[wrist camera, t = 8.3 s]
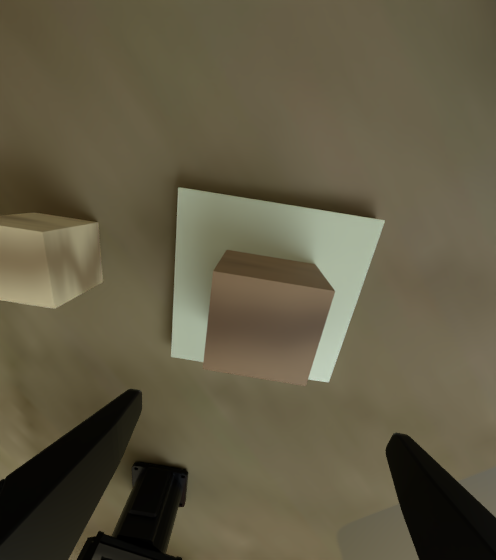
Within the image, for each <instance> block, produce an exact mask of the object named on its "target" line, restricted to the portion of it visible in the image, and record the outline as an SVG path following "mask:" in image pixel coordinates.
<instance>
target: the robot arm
mask: <svg viewBox="0 0 496 560" xmlns="http://www.w3.org/2000/svg"><path fill="white" fill-rule="evenodd" d="M141 410H142V392H141V391H140V390H136V389H129V390H127V391H125V392H124V393H123V394H121V395H120V396H118V397H117V398H116V399H114V400H113V401H111V402H110V403H109V404H107V405H106V406H104V407H103V408H102V409H100V410H99V411H97V412H96V413H95V414H93V415H92V416H90V417H89V418H88V419H86V420H85V421H83V422H82V423H81V424H79V425H78V426H76V427H75V428H74V429H72V430H71V431H69V432H68V433H67V434H65V435H64V436H62V437H61V438H60V439H58V440H57V441H55V442H54V443H53V444H51V445H50V446H48V447H47V448H46V449H44V450H43V451H41V452H40V453H39V454H37V455H36V456H34V457H33V458H32V459H30V460H29V461H27V462H26V463H25V464H23V465H22V466H20V467H19V468H18V469H16V470H15V471H13V472H12V473H11V474H9V475H8V476H7V477H6V478H5V479H2V480H1V481H0V560H68V559H69V557H70V555H71V553H72V551H73V549H74V547H75V546H76V544H77V542H78V540H79V538H80V536H81V534H82V533H83V531H84V529H85V527H86V525H87V523H88V521H89V519H90V518H91V516H92V514H93V512H94V510H95V508H96V506H97V504H98V503H99V501H100V499H101V497H102V495H103V493H104V491H105V490H106V488H107V486H108V484H109V482H110V480H111V478H112V476H113V475H114V473H115V471H116V469H117V467H118V465H119V463H120V461H121V458H122V456H123V454H124V452H125V449H126V447H127V445H128V442H129V440H130V437H131V435H132V433H133V430H134V428H135V426H136V423H137V421H138V419H139V416H140V414H141ZM386 457H387V461H388V464H389V468H390V472H391V475H392V479H393V482H394V486H395V490H396V493H397V497H398V500H399V504H400V507H401V510H402V513H403V516H404V519H405V522H406V524H407V527H408V530H409V533H410V535H411V538H412V541H413V544H414V546H415V549H416V552H417V555H418V557H419V560H496V518H495V517H494V516H493V515H492V514H491V513H490V512H489V511H488V510H487V509H486V508H485V507H484V506H483V505H482V504H481V503H480V502H479V501H477V500H476V499H475V498H474V497H473V496H472V495H471V494H470V493H469V492H468V491H467V490H466V489H465V488H464V487H463V486H461V484H459V483H458V482H457V481H456V480H455V479H454V478H453V477H452V476H451V475H450V474H449V473H448V472H447V471H446V470H445V469H444V468H442V467H441V466H440V465H439V464H438V463H437V462H436V461H435V460H434V459H433V458H432V457H431V456H430V455H429V454H428V453H427V452H426V451H424V450H423V449H422V448H421V447H420V446H419V445H418V444H417V443H416V442H415V441H414V440H413V439H412V438H411V437H409V436H408V435H406V434H401V433H394V434H393V435H392V437H391V439H390V441H389V443H388V445H387V447H386ZM187 480H188V472H187V471H186V470H181V469H175V468H169V467H163V466H157V465H151V464H145V463H139V462H135V463H134V464H133V466H132V485H133V489H132V491H131V493H130V495H129V498H128V500H127V502H126V505H125V507H124V509H123V511H122V514H121V516H120V518H119V520H118V523H117V525H116V527H115V529H114V532H113V534H112V536H109V535H106V534H104V532H101V531H99V532H98V534H97V536H96V537H95V536H94V537H90V538H88V539H87V541H86V543H85V545H84V546H83V548H82V550H81V552H80V554H79V556H78V558H77V560H182V558H181V557H178V556H177V557H173V556H170V555H167V554H166V551H167V547H168V544H169V540H170V536H171V532H172V529H173V525H174V521H175V518H176V514H177V510H178V507H184V505H185V502H186V491H187Z"/></svg>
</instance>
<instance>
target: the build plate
mask: <svg viewBox="0 0 496 560" xmlns="http://www.w3.org/2000/svg"><path fill="white" fill-rule="evenodd" d="M384 222H385V220H380V219H376V218H369V217H363V216H357V215H351V214H344V213H338V212H332V211H326V210H320V209H313V208H307V207H301V206H295V205H288V204H282V203H276V202H270V201H263V200H257V199H251V198H245V197H239V196H232V195H226V194H220V193H214V192H207V191H201V190H195V189H189V188H180V187H178V204H177V228H176V252H175V276H174V300H173V324H172V348H171V357H176V358H182V359H188V360H194V361H200V362H203V361H204V352H205V342H206V333H207V323H208V314H209V305H210V295H211V286H212V276H213V270H214V269H215V267H216V266H217V264H218V263H219V261H220V259H221V258H222V256H223V255H224V253H225V252H226V250H232V251H238V252H244V253H250V254H256V255H262V256H268V257H274V258H281V259H287V260H293V261H299V262H305V263H311V264H316V266H317V267H318V268H319V270H320V271H321V273H322V274H323V275H324V277H325V278H326V279H327V281H328V282H329V283H330V285H331V286H332V287H333V289H334V290H335V294H334V297H333V300H332V303H331V307H330V310H329V313H328V316H327V319H326V323H325V326H324V329H323V332H322V336H321V339H320V342H319V345H318V349H317V352H316V355H315V358H314V361H313V365H312V368H311V371H310V374H309V378H308V379H310V380H316V381H323V382H329V380H330V377H331V375H332V372H333V369H334V366H335V363H336V360H337V357H338V354H339V352H340V349H341V346H342V343H343V340H344V337H345V334H346V331H347V329H348V326H349V323H350V320H351V317H352V314H353V311H354V308H355V306H356V303H357V300H358V297H359V294H360V291H361V288H362V285H363V283H364V280H365V277H366V274H367V271H368V268H369V265H370V262H371V260H372V257H373V254H374V251H375V248H376V245H377V242H378V239H379V237H380V234H381V231H382V228H383V225H384Z"/></svg>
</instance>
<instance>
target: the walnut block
mask: <svg viewBox="0 0 496 560" xmlns="http://www.w3.org/2000/svg"><path fill="white" fill-rule="evenodd" d="M334 294H335V290H334V289H333V287H332V286H331V285H330V283H329V282H328V281H327V279H326V278H325V277H324V275H323V274H322V273H321V271H320V270H319V268H318V267H317V266H316V264H311V263H305V262H299V261H293V260H287V259H281V258H274V257H268V256H262V255H256V254H250V253H244V252H238V251H232V250H226V252H225V253H224V255H223V256H222V258H221V259H220V261H219V263H218V264H217V266H216V267H215V269H214V270H213V276H212V286H211V295H210V305H209V314H208V323H207V333H206V342H205V352H204V361H203V369H205V370H211V371H217V372H224V373H230V374H236V375H242V376H248V377H254V378H260V379H266V380H272V381H278V382H284V383H290V384H296V385H302V386H306V384H307V381H308V378H309V374H310V371H311V368H312V365H313V361H314V358H315V355H316V352H317V349H318V345H319V342H320V339H321V336H322V332H323V329H324V326H325V323H326V319H327V316H328V313H329V310H330V307H331V303H332V300H333V297H334Z"/></svg>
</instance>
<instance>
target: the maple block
mask: <svg viewBox="0 0 496 560" xmlns="http://www.w3.org/2000/svg"><path fill="white" fill-rule="evenodd" d="M102 282H103V273H102V261H101V248H100V236H99V223H98V222H93V221H87V220H80V219H74V218H67V217H61V216H54V215H48V214H41V213H35V212H34V213H23V214H11V215H0V300H3V301H9V302H15V303H22V304H28V305H34V306H41V307H47V308H53V309H55V308H57V307H59V306H61V305H63V304H64V303H66V302H68V301H70V300H72V299H73V298H75V297H77V296H79V295H81V294H83V293H84V292H86V291H88V290H90V289H92V288H93V287H95V286H97V285H99V284H101V283H102Z"/></svg>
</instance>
